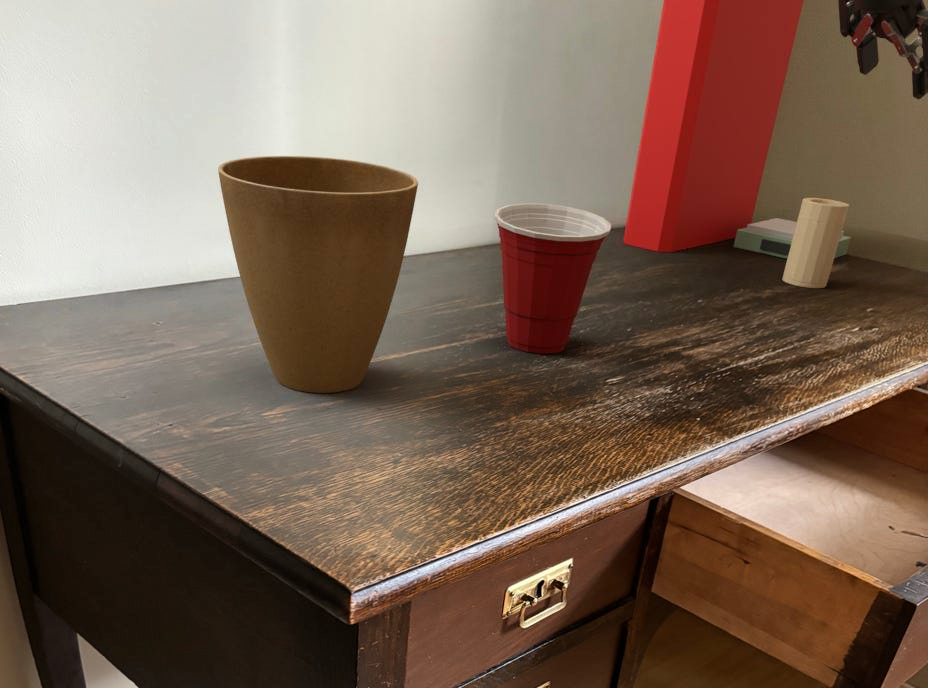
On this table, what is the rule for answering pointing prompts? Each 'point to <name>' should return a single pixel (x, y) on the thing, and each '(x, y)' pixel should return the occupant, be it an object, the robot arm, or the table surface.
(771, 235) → the scale
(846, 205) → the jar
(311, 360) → the plant pot
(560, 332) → the plastic cup
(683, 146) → the book
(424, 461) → the table surface
